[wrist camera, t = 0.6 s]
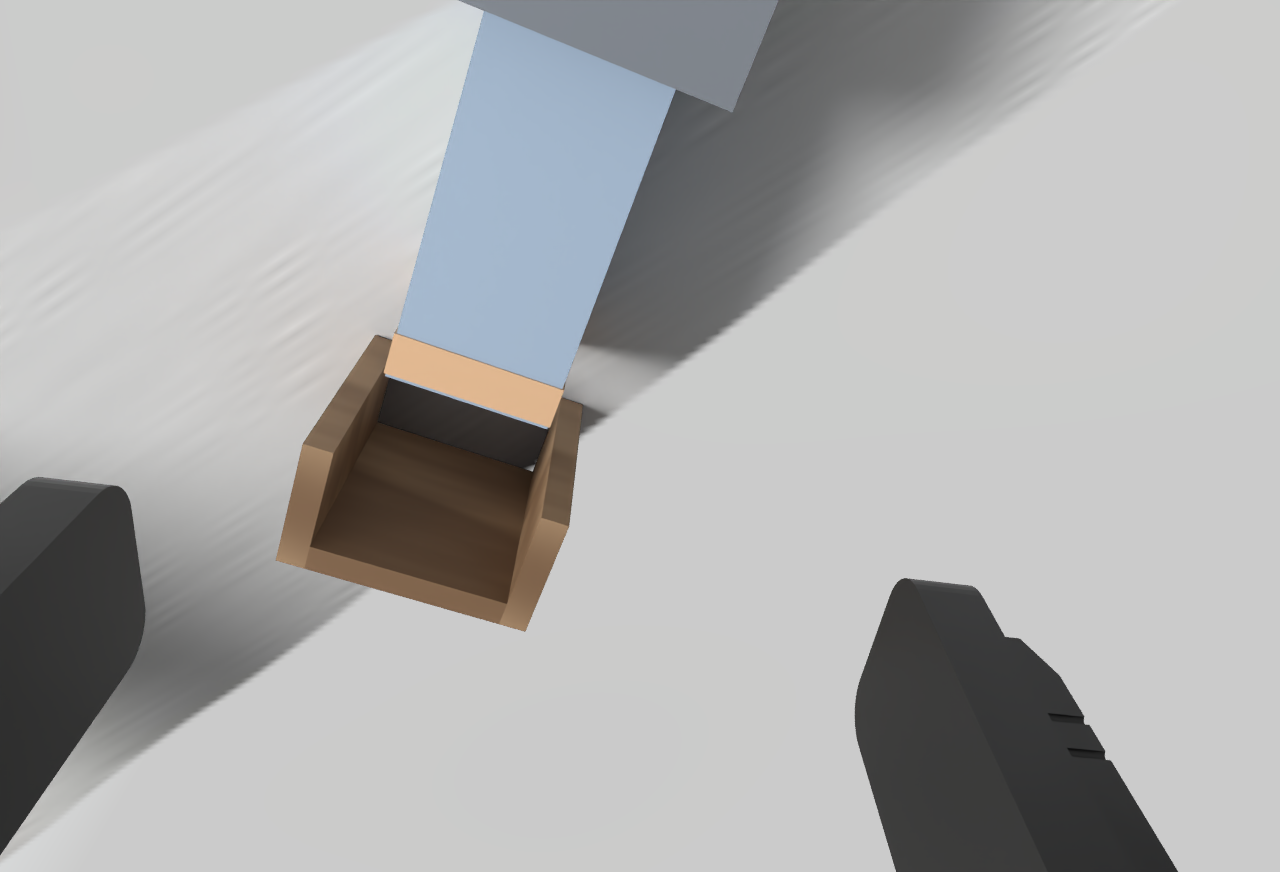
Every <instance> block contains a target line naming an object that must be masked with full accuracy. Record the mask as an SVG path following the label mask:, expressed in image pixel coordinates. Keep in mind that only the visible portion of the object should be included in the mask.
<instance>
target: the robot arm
mask: <svg viewBox="0 0 1280 872" xmlns="http://www.w3.org/2000/svg"><path fill="white" fill-rule="evenodd" d="M144 623H145V602H144V595H143V588H142V581H141V574H140V567H139V560H138V552H137V545H136V538H135V531H134V524H133V517H132V510H131V505H130V501H129V498H128V496H127V494H126V492H125V491H124V490H123V489H122V488H120V487H119V486H113V485H104V484H95V483H86V482H78V481H69V480H60V479H51V478H43V477H36V478H32V479H30V480H28V481H26V482H25V483H24V484H22V485H21V486H20V487H19V488H18V489H17V490H15V491H14V492H13V493H12V494H11V495H10V496H9V497H8V498H6V499H5V500H4V501H3V502H2V503H1V504H0V855H1V853H2V852H3V850H4V849H5V848H6V846H7V845H8V843H9V842H10V840H11V839H12V837H13V836H14V835H15V833H16V832H17V830H18V829H19V827H20V826H21V824H22V823H23V822H24V820H25V819H26V817H27V816H28V814H29V813H30V811H31V810H32V809H33V807H34V806H35V804H36V803H37V801H38V800H39V798H40V797H41V795H42V794H43V793H44V791H45V790H46V788H47V787H48V785H49V784H50V782H51V781H52V780H53V778H54V777H55V775H56V774H57V772H58V771H59V769H60V768H61V767H62V765H63V764H64V762H65V761H66V759H67V758H68V756H69V755H70V754H71V752H72V751H73V749H74V748H75V746H76V745H77V743H78V742H79V741H80V739H81V738H82V736H83V735H84V733H85V732H86V730H87V729H88V728H89V726H90V725H91V723H92V722H93V720H94V719H95V717H96V716H97V715H98V713H99V712H100V710H101V709H102V707H103V706H104V704H105V703H106V702H107V700H108V699H109V697H110V696H111V694H112V693H113V691H114V690H115V689H116V687H117V686H118V684H119V683H120V681H121V680H122V678H123V677H124V676H125V674H126V673H127V671H128V670H129V668H130V666H131V665H132V663H133V661H134V659H135V656H136V654H137V651H138V649H139V646H140V643H141V639H142V635H143V630H144ZM855 727H856V735H857V741H858V745H859V748H860V752H861V755H862V758H863V762H864V765H865V768H866V772H867V775H868V779H869V781H870V785H871V789H872V792H873V795H874V799H875V802H876V805H877V809H878V812H879V816H880V819H881V822H882V826H883V829H884V832H885V836H886V839H887V843H888V846H889V849H890V852H891V856H892V859H893V863H894V866H895V869H896V872H1178V871H1177V869H1176V868H1175V866H1174V864H1173V863H1172V861H1171V859H1170V858H1169V856H1168V854H1167V853H1166V851H1165V849H1164V848H1163V846H1162V844H1161V843H1160V841H1159V840H1158V838H1157V836H1156V834H1155V833H1154V831H1153V829H1152V828H1151V826H1150V825H1149V823H1148V821H1147V820H1146V818H1145V816H1144V815H1143V813H1142V811H1141V810H1140V808H1139V806H1138V805H1137V803H1136V801H1135V800H1134V798H1133V796H1132V795H1131V793H1130V791H1129V790H1128V788H1127V786H1126V785H1125V783H1124V781H1123V780H1122V778H1121V776H1120V775H1119V773H1118V772H1117V770H1116V768H1115V767H1114V765H1113V763H1112V762H1111V761H1110V760H1106V759H1105V750H1104V748H1103V747H1102V745H1101V743H1100V742H1099V740H1098V738H1097V737H1096V735H1095V733H1094V732H1093V730H1092V728H1091V727H1090V725H1085V724H1084V715H1083V714H1082V712H1081V710H1080V709H1079V707H1078V705H1077V704H1076V702H1075V700H1074V699H1073V697H1072V695H1071V694H1070V692H1069V690H1068V689H1067V687H1066V685H1065V684H1064V682H1063V681H1062V679H1061V677H1060V676H1059V675H1058V674H1057V673H1056V672H1055V671H1054V670H1053V669H1052V668H1051V667H1050V666H1049V665H1048V664H1047V663H1045V662H1044V661H1043V660H1042V659H1041V658H1040V657H1039V656H1038V655H1037V654H1036V653H1035V652H1034V651H1033V650H1031V649H1030V648H1029V647H1028V646H1027V645H1026V644H1025V643H1024V642H1023V641H1022V640H1021V639H1018V638H1009V637H1005V636H1004V634H1003V632H1002V631H1001V629H1000V627H999V625H998V624H997V622H996V620H995V618H994V616H993V615H992V613H991V611H990V609H989V608H988V606H987V604H986V602H985V600H984V598H983V597H982V595H981V594H980V592H979V591H978V590H977V589H976V588H974V587H973V586H968V585H958V584H950V583H941V582H932V581H924V580H915V579H907V578H904V579H901V580H900V581H898V582H897V584H896V585H895V586H894V588H893V590H892V592H891V595H890V597H889V600H888V603H887V606H886V608H885V611H884V614H883V617H882V620H881V622H880V625H879V628H878V631H877V634H876V637H875V639H874V642H873V645H872V648H871V651H870V653H869V656H868V659H867V662H866V665H865V667H864V671H863V673H862V676H861V679H860V682H859V685H858V689H857V695H856V703H855Z"/></svg>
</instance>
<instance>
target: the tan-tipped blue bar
mask: <svg viewBox="0 0 1280 872" xmlns="http://www.w3.org/2000/svg"><path fill="white" fill-rule="evenodd" d="M675 90H676V89H674V88H671V87H669V86H666V85H664V84H661V83H659V82H657V81H654V80H652V79H649V78H647V77H644V76H642V75H640V74H637V73H635V72H632V71H630V70H627V69H625V68H622V67H620V66H618V65H615V64H613V63H610V62H608V61H605V60H603V59H601V58H598V57H596V56H593V55H591V54H588V53H586V52H583V51H581V50H579V49H576V48H574V47H571V46H569V45H566V44H564V43H562V42H559V41H557V40H554V39H552V38H549V37H547V36H544V35H542V34H540V33H537V32H535V31H532V30H530V29H527V28H525V27H523V26H520V25H518V24H515V23H513V22H510V21H508V20H506V19H503V18H501V17H498V16H496V15H493V14H491V13H488V12H486V11H484V13H483V17H482V20H481V24H480V28H479V32H478V35H477V39H476V43H475V46H474V50H473V54H472V57H471V61H470V65H469V68H468V72H467V76H466V79H465V83H464V87H463V90H462V94H461V98H460V102H459V105H458V109H457V113H456V116H455V120H454V124H453V127H452V131H451V135H450V138H449V142H448V146H447V149H446V153H445V157H444V160H443V164H442V168H441V172H440V175H439V179H438V183H437V186H436V190H435V194H434V197H433V201H432V205H431V208H430V212H429V216H428V219H427V223H426V227H425V231H424V234H423V238H422V242H421V245H420V249H419V253H418V256H417V260H416V264H415V267H414V271H413V275H412V278H411V282H410V286H409V289H408V293H407V297H406V301H405V304H404V308H403V312H402V315H401V319H400V323H399V326H398V328H397V330H396V331H395V333H394V336H393V340H392V344H391V347H390V351H389V355H388V358H387V362H386V366H385V369H384V373H385V376H386V377H389V378H392V379H395V380H398V381H402V382H405V383H408V384H411V385H414V386H417V387H420V388H423V389H426V390H429V391H432V392H435V393H438V394H441V395H444V396H447V397H450V398H453V399H456V400H459V401H462V402H465V403H468V404H471V405H474V406H478V407H481V408H484V409H487V410H490V411H493V412H496V413H499V414H502V415H505V416H508V417H511V418H514V419H517V420H520V421H523V422H526V423H529V424H532V425H535V426H538V427H541V428H544V429H547V428H548V427H549V428H550V426H551V423H552V421H553V418H554V415H555V413H556V410H557V408H558V405H559V402H560V400H561V397H562V394H563V392H564V387H565V381H566V378H567V375H568V373H569V370H570V368H571V365H572V362H573V360H574V357H575V354H576V352H577V349H578V346H579V344H580V341H581V339H582V336H583V333H584V331H585V328H586V325H587V323H588V320H589V317H590V315H591V312H592V309H593V307H594V304H595V302H596V299H597V296H598V294H599V291H600V288H601V286H602V283H603V280H604V278H605V275H606V273H607V270H608V267H609V265H610V262H611V259H612V257H613V254H614V251H615V249H616V246H617V243H618V241H619V238H620V236H621V233H622V230H623V228H624V225H625V222H626V220H627V217H628V214H629V212H630V209H631V207H632V204H633V201H634V199H635V196H636V193H637V191H638V188H639V185H640V183H641V180H642V177H643V175H644V172H645V170H646V167H647V164H648V162H649V159H650V156H651V154H652V151H653V148H654V146H655V143H656V140H657V138H658V135H659V133H660V130H661V127H662V125H663V122H664V119H665V117H666V114H667V111H668V109H669V106H670V104H671V101H672V98H673V96H674V93H675Z"/></svg>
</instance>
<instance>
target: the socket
mask: <svg viewBox="0 0 1280 872" xmlns="http://www.w3.org/2000/svg"><path fill="white" fill-rule="evenodd" d="M391 344H392V340H389V339H386V338H383V337H380V336H377V335H375V336H374V338H373V339H372V341H371V342H370V344H369V345H368V347H367V348H366V350H365V351H364V353H363V354H362V356H361V357H360V359H359V360H358V362H357V363H356V365H355V366H354V368H353V369H352V371H351V372H350V374H349V375H348V377H347V378H346V380H345V381H344V383H343V384H342V386H341V387H340V389H339V390H338V392H337V393H336V395H335V396H334V398H333V399H332V401H331V402H330V404H329V405H328V407H327V408H326V410H325V411H324V413H323V414H322V416H321V417H320V419H319V420H318V422H317V423H316V425H315V426H314V428H313V429H312V431H311V432H310V434H309V435H308V437H307V438H306V440H305V441H304V443H303V445H302V450H301V454H300V458H299V462H298V467H297V471H296V475H295V480H294V484H293V488H292V493H291V497H290V501H289V505H288V510H287V514H286V518H285V523H284V527H283V531H282V536H281V540H280V544H279V549H278V553H277V557H276V561H280V562H283V563H287V564H290V565H294V566H297V567H301V568H304V569H308V570H311V571H315V572H318V573H322V574H325V575H329V576H332V577H336V578H339V579H343V580H346V581H350V582H353V583H357V584H360V585H364V586H367V587H371V588H374V589H378V590H381V591H385V592H388V593H393V594H395V595H399V596H403V597H406V598H409V599H413V600H416V601H420V602H423V603H427V604H430V605H434V606H437V607H441V608H444V609H448V610H451V611H455V612H458V613H462V614H465V615H469V616H472V617H476V618H480V619H483V620H486V621H490V622H493V623H497V624H501V625H504V626H507V627H511V628H514V629H518V630H521V631H526V628H527V626H528V624H529V621H530V619H531V617H532V614H533V612H534V609H535V607H536V604H537V602H538V600H539V597H540V595H541V593H542V590H543V588H544V585H545V583H546V581H547V578H548V576H549V573H550V571H551V569H552V566H553V564H554V561H555V559H556V556H557V554H558V552H559V549H560V547H561V545H562V542H563V540H564V537H565V535H566V533H567V530H568V528H569V522H570V514H571V505H572V496H573V487H574V478H575V469H576V460H577V452H578V443H579V435H580V426H581V417H582V408H583V405H582V404H579V403H576V402H573V401H570V400H567V399H564V398H561V400H560V402H559V405H558V408H557V410H556V413H555V415H554V418H553V421H552V423H551V426H550V428H549V430H548V433H547V436H546V438H545V441H544V443H543V446H542V449H541V451H540V454H539V457H538V459H537V462H536V465H535V467H534V470H533V472H532V471H529V470H526V469H522V468H519V467H516V466H513V465H510V464H507V463H504V462H500V461H497V460H494V459H491V458H488V457H485V456H482V455H479V454H475V453H472V452H469V451H466V450H463V449H460V448H457V447H453V446H450V445H447V444H444V443H441V442H438V441H435V440H432V439H428V438H425V437H422V436H419V435H416V434H413V433H410V432H406V431H403V430H400V429H397V428H394V427H391V426H388V425H385V424H381V423H378V422H377V421H378V418H379V414H380V410H381V407H382V403H383V399H384V396H385V392H386V388H387V385H388V381H389V377H386V376H385V373H384V369H385V366H386V362H387V358H388V355H389V351H390V347H391Z"/></svg>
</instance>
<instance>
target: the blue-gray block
mask: <svg viewBox="0 0 1280 872" xmlns="http://www.w3.org/2000/svg"><path fill="white" fill-rule="evenodd" d="M459 1H462V2H464V3H467V4H469V5H471V6H474V7H476V8H479V9H481V10H484V11H486V12H488V13H491V14H493V15H496V16H498V17H501V18H503V19H506V20H508V21H510V22H513V23H515V24H518V25H520V26H523V27H525V28H527V29H530V30H532V31H535V32H537V33H540V34H542V35H544V36H547V37H549V38H552V39H554V40H557V41H559V42H562V43H564V44H566V45H569V46H571V47H574V48H576V49H579V50H581V51H583V52H586V53H588V54H591V55H593V56H596V57H598V58H601V59H603V60H605V61H608V62H610V63H613V64H615V65H618V66H620V67H622V68H625V69H627V70H630V71H632V72H635V73H637V74H640V75H642V76H644V77H647V78H649V79H652V80H654V81H657V82H659V83H661V84H664V85H666V86H669V87H671V88H674V89H676V90H679V91H681V92H683V93H686V94H688V95H691V96H693V97H696V98H698V99H700V100H703V101H705V102H708V103H710V104H713V105H715V106H718V107H720V108H722V109H725V110H727V111H730V112H733V110H734V107H735V105H736V103H737V100H738V98H739V95H740V93H741V91H742V88H743V86H744V83H745V81H746V78H747V76H748V74H749V71H750V69H751V66H752V64H753V61H754V59H755V57H756V54H757V52H758V49H759V47H760V44H761V42H762V40H763V37H764V35H765V32H766V30H767V27H768V25H769V23H770V20H771V18H772V15H773V13H774V10H775V8H776V6H777V3H778V1H779V0H459Z"/></svg>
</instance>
